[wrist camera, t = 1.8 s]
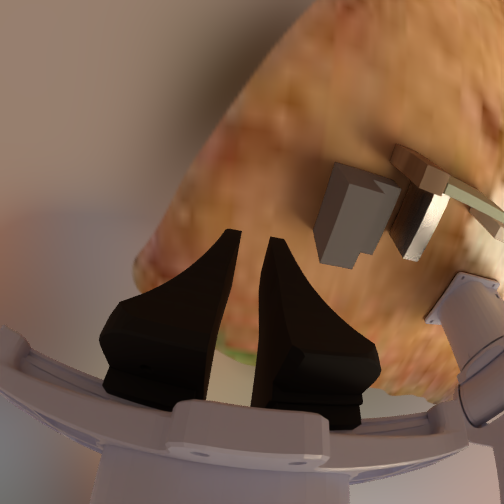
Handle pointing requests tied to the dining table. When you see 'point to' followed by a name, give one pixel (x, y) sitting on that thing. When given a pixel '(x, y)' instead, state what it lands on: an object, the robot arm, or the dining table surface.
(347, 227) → the block
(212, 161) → the dining table surface
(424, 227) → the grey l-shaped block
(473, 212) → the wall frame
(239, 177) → the dining table surface
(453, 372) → the dining table surface
